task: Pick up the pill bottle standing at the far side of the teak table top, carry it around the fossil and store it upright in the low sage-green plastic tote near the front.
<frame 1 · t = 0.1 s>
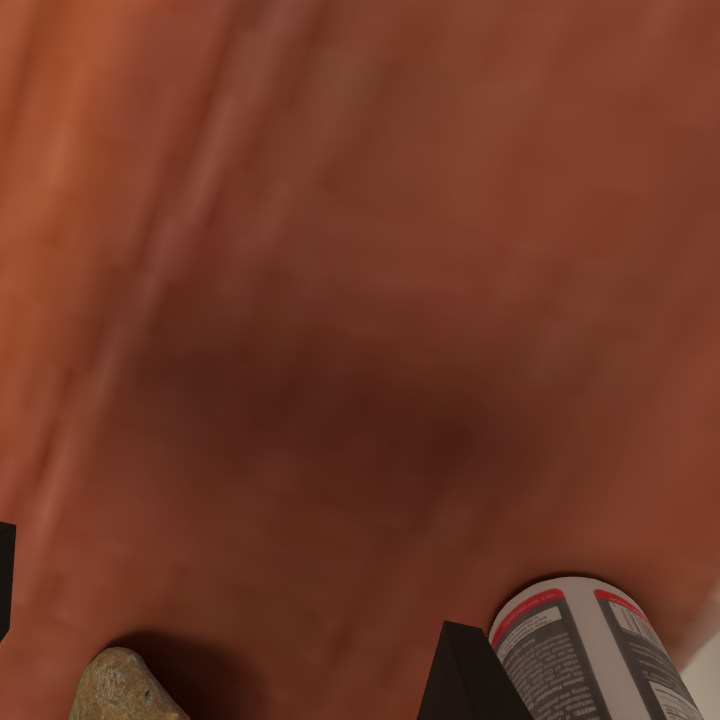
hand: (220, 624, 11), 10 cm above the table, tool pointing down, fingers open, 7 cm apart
pill bottle: (566, 637, 22), on the table
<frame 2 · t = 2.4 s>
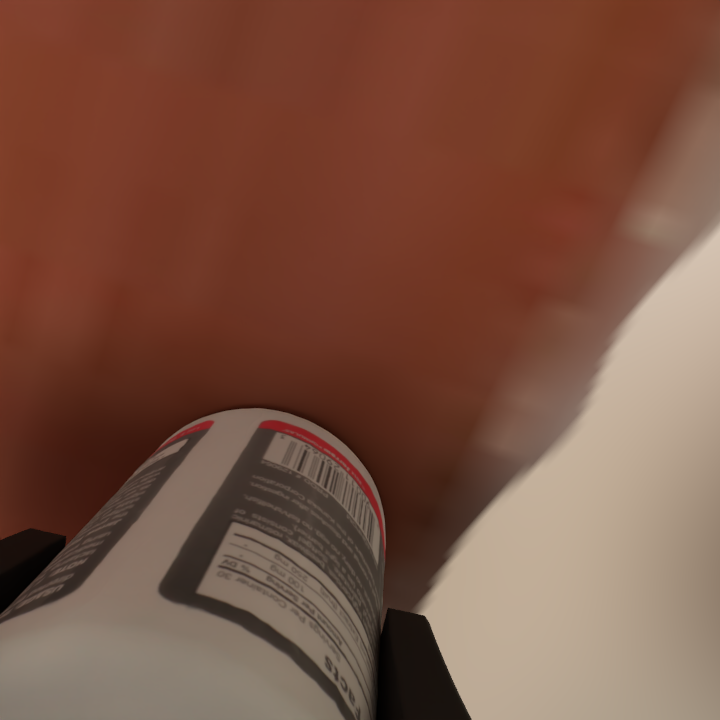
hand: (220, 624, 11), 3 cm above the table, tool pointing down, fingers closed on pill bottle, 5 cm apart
pill bottle: (265, 516, 14), on the table, touching gripper
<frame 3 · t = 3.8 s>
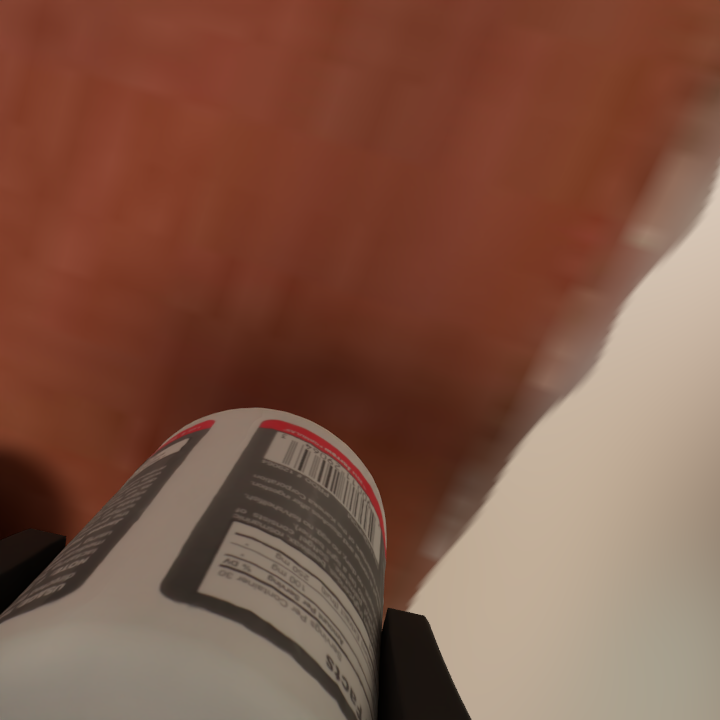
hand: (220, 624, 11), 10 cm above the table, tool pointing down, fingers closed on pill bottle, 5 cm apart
pill bottle: (266, 515, 14), point 7 cm above the table, touching gripper
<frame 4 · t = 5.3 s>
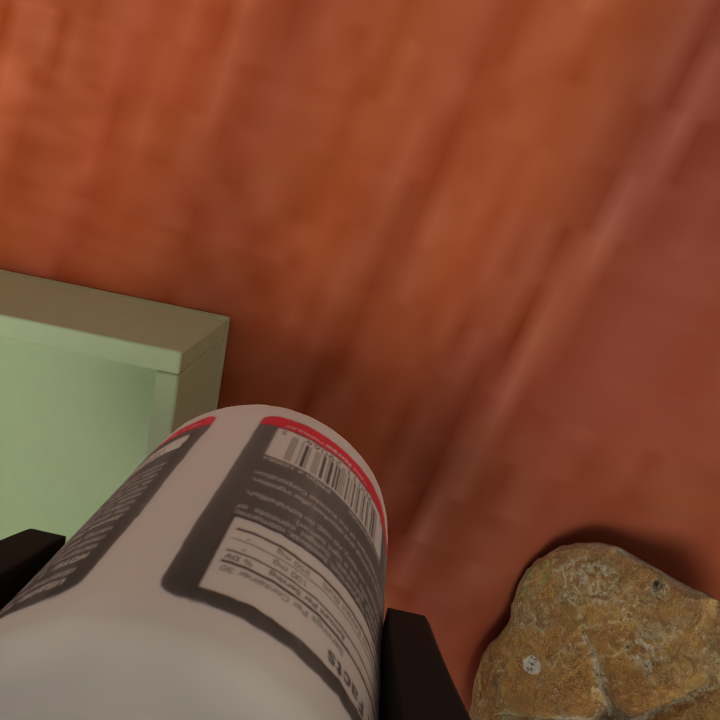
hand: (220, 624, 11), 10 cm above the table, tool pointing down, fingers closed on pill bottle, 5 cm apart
tote: (59, 433, 22), on the table
fossil: (583, 646, 22), on the table
pill bottle: (267, 512, 14), point 7 cm above the table, touching gripper
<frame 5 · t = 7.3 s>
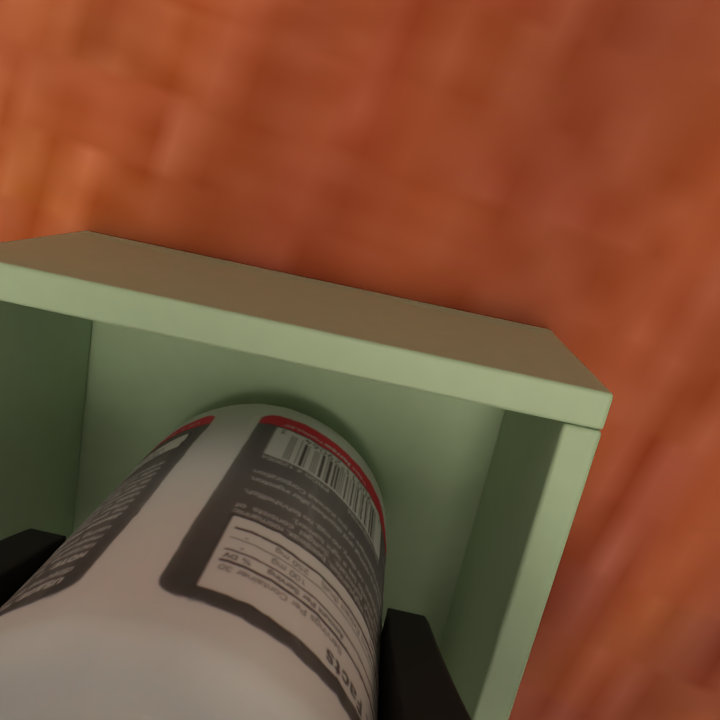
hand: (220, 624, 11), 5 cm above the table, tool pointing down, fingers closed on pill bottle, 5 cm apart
tote: (277, 491, 15), on the table
pill bottle: (266, 512, 14), point 1 cm above the table, touching gripper
when the fingers open (4 cm above the table, at t = 8.1 s): pill bottle moves 1 cm, point 1 cm above the table.
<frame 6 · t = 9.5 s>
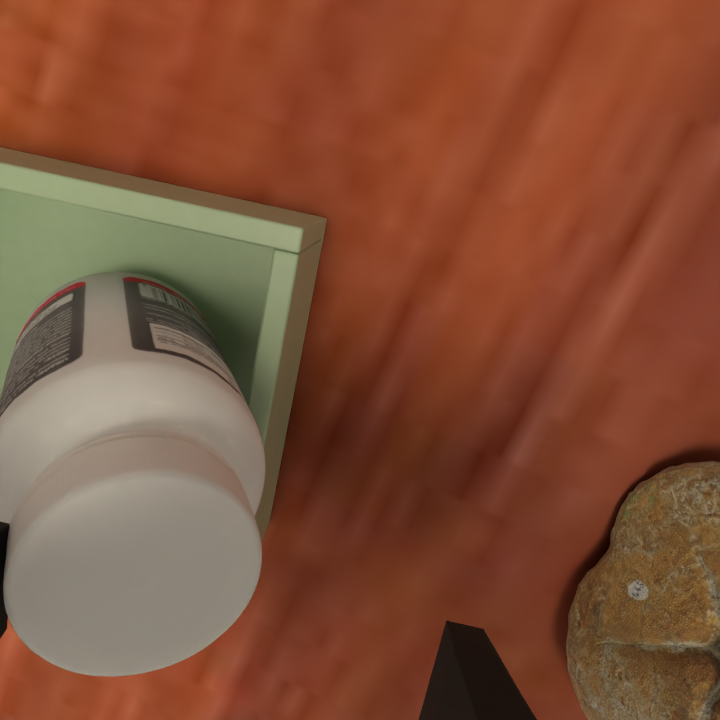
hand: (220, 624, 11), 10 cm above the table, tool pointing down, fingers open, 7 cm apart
tote: (137, 346, 20), on the table
fossil: (681, 578, 21), on the table
pill bottle: (120, 356, 19), point 1 cm above the table, touching gripper
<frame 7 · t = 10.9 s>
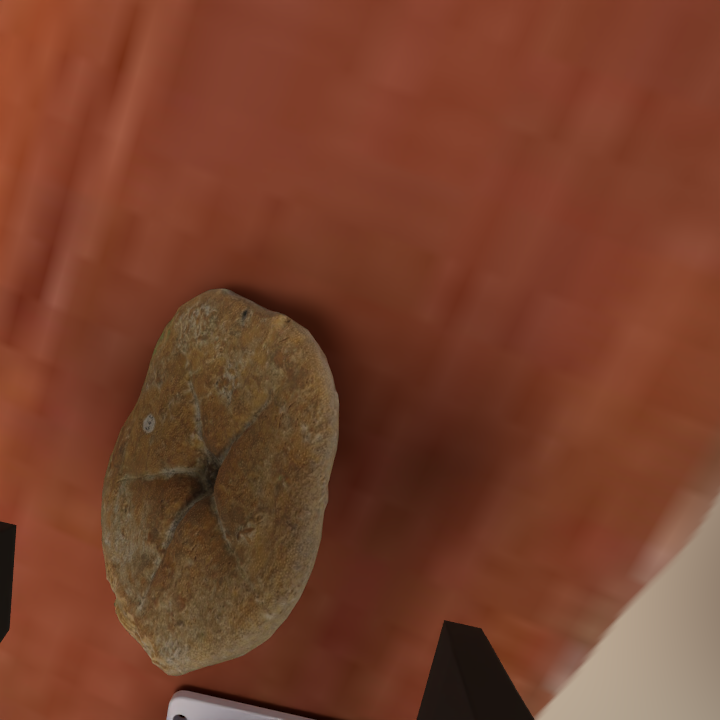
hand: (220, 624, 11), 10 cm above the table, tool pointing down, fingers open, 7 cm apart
fossil: (238, 427, 21), on the table
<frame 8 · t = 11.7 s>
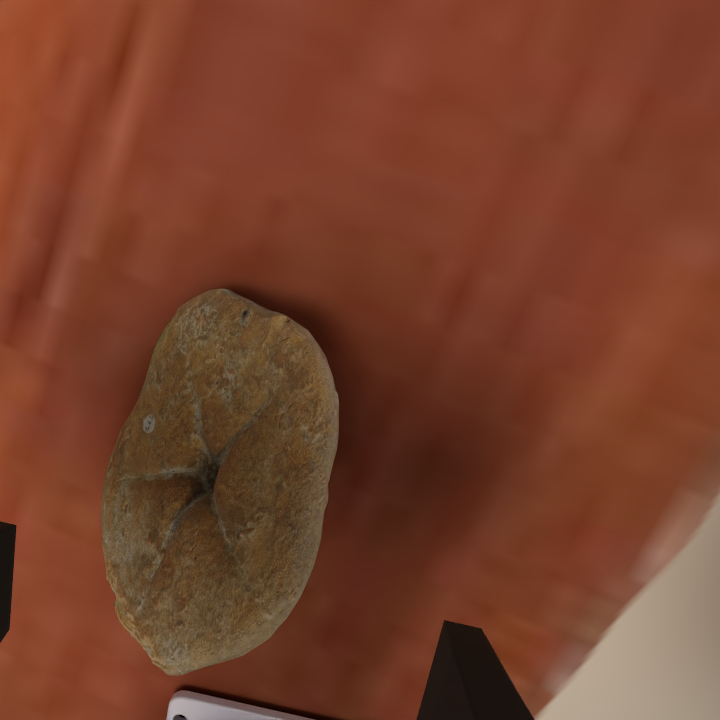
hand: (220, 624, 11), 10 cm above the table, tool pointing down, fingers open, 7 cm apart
fossil: (238, 427, 21), on the table
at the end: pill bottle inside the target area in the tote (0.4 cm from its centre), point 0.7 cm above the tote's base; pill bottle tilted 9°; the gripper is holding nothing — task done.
